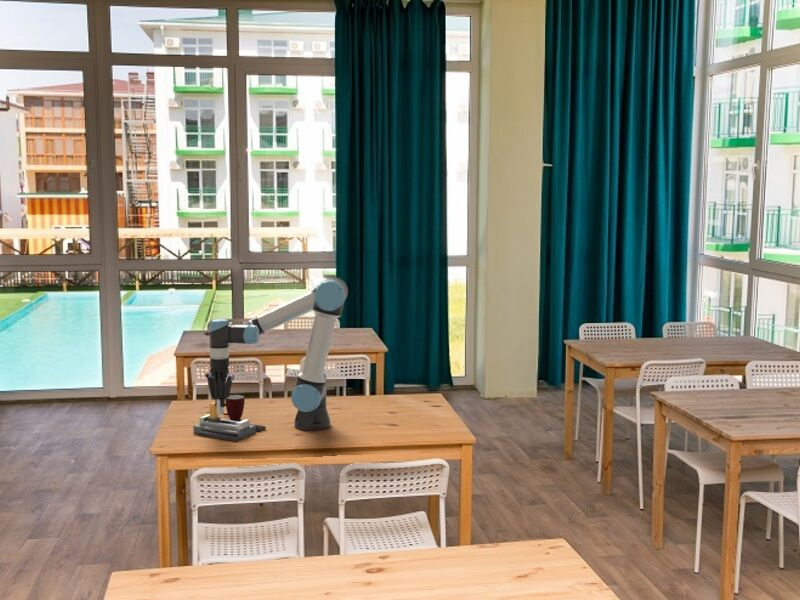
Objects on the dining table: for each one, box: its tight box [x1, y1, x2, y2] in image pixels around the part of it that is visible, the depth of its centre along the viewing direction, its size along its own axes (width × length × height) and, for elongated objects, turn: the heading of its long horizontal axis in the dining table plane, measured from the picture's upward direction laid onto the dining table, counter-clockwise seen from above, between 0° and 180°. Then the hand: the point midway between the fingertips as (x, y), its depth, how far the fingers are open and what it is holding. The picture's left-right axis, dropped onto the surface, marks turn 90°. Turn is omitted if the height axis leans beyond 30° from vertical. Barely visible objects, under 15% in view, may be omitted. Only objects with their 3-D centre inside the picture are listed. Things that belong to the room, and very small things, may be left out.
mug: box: [222, 394, 245, 422], centre depth 377 cm, size 10×8×10 cm
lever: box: [208, 401, 221, 423], centre depth 359 cm, size 4×3×8 cm
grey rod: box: [256, 426, 263, 432], centre depth 365 cm, size 24×2×2 cm, turn 65°
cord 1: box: [197, 431, 239, 442], centre depth 350 cm, size 20×2×2 cm, turn 63°
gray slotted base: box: [192, 413, 257, 441], centre depth 357 cm, size 22×12×6 cm, turn 65°
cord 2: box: [250, 423, 267, 431], centre depth 367 cm, size 25×2×2 cm, turn 68°
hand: (220, 414), depth 357 cm, fingers closed
